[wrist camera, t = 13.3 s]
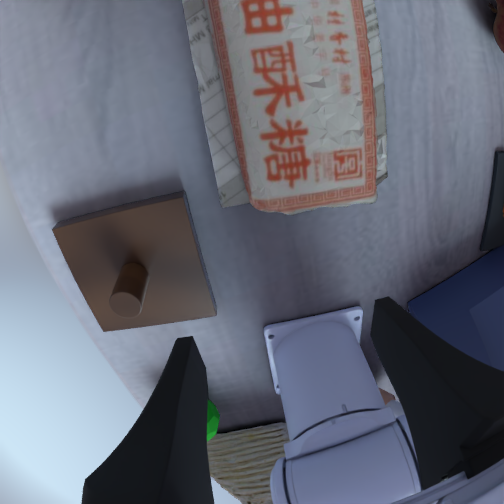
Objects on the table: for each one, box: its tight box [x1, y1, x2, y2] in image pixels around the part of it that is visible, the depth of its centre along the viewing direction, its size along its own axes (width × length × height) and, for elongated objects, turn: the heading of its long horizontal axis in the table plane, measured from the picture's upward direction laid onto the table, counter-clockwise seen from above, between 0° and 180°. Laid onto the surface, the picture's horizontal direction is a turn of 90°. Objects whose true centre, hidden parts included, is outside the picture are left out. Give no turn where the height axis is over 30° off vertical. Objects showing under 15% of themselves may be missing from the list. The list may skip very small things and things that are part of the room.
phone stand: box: [408, 245, 504, 371], centre depth 22 cm, size 12×12×12 cm
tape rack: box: [52, 191, 217, 332], centre depth 19 cm, size 9×9×4 cm
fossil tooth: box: [207, 422, 290, 504], centre depth 30 cm, size 12×6×15 cm
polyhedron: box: [207, 400, 220, 441], centre depth 27 cm, size 5×5×5 cm
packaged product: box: [182, 0, 388, 215], centre depth 12 cm, size 18×5×10 cm
